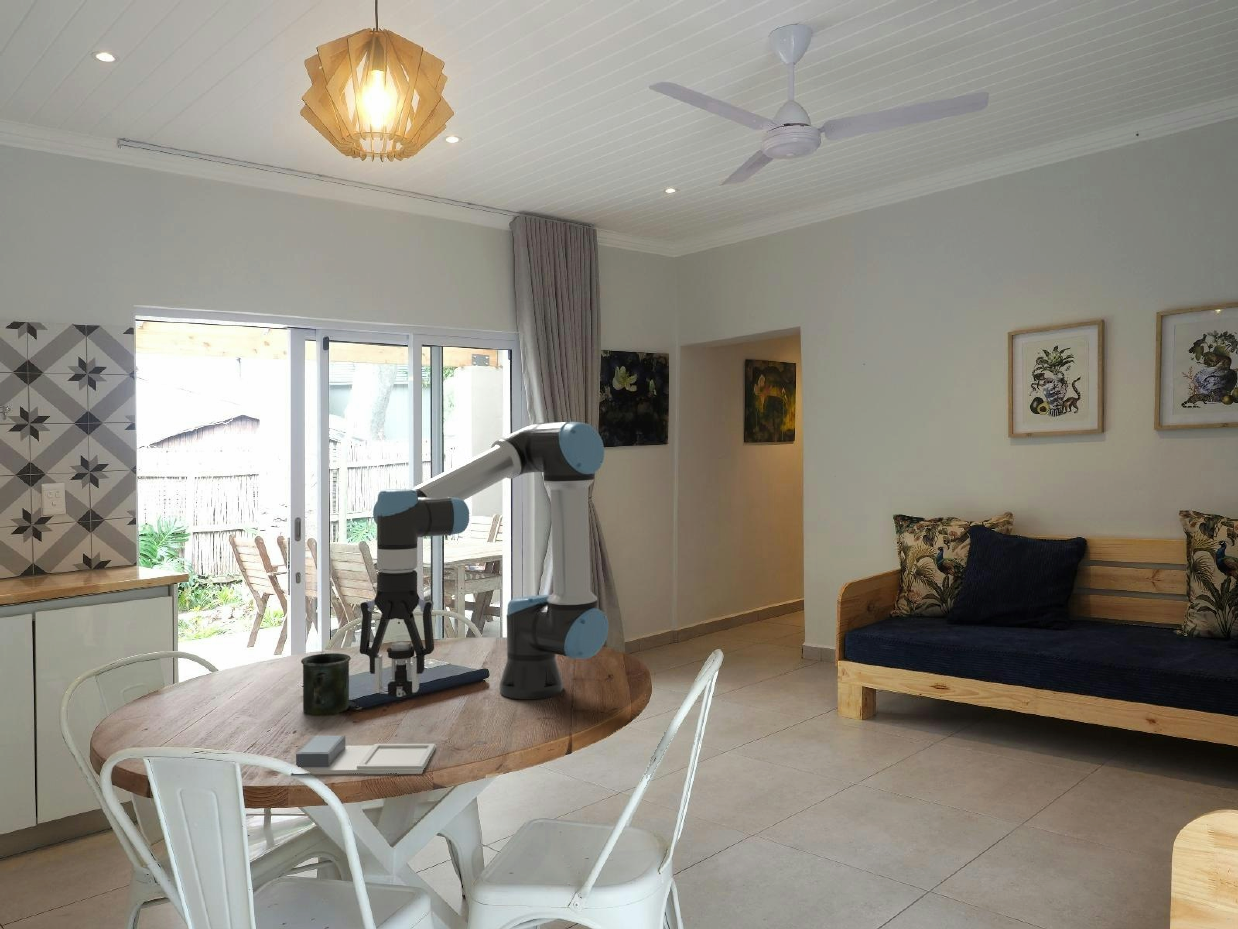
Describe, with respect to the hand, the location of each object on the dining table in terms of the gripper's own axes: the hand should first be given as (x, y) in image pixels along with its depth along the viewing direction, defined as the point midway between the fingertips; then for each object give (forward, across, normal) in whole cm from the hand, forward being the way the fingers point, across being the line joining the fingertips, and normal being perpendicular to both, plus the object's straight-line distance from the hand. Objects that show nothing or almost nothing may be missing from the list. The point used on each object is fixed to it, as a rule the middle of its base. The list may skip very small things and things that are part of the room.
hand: (397, 690), depth 175 cm
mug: (+14, +24, -33) cm, 43 cm away
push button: (+1, 0, 0) cm, 1 cm away
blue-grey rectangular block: (+13, +14, 0) cm, 19 cm away
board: (+14, +6, 0) cm, 15 cm away
